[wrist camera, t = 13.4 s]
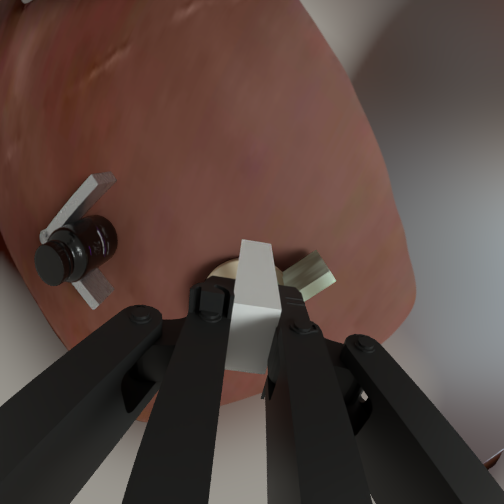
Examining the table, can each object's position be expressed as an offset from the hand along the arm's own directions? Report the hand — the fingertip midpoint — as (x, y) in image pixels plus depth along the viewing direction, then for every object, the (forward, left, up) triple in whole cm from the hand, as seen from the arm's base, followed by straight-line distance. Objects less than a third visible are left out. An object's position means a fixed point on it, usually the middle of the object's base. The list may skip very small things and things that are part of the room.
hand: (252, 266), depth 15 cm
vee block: (+7, -23, -20) cm, 32 cm away
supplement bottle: (+7, -21, -21) cm, 30 cm away
